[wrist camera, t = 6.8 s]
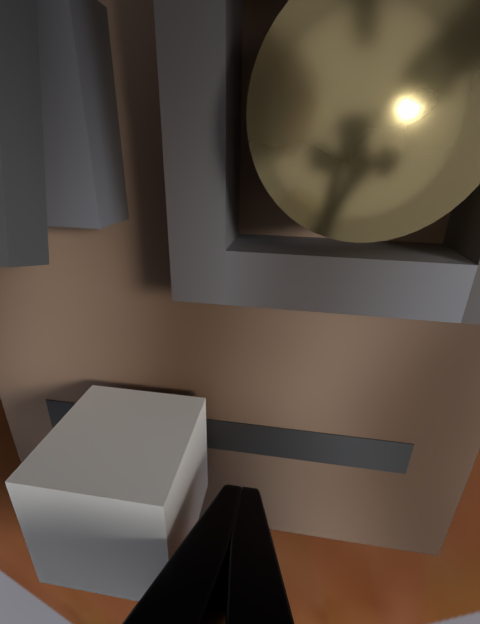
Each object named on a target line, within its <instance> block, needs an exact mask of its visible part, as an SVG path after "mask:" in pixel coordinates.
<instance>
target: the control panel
mask: <svg viewBox="0 0 480 624" xmlns="http://www.w3.org/2000/svg"><path fill="white" fill-rule="evenodd" d="M288 1H289V0H37V19H38V40H39V61H40V82H41V102H42V123H43V144H44V165H45V186H46V207H47V228H48V248H49V265H37V266H23V267H10V268H9V267H0V398H1V402H2V405H3V408H4V411H5V414H6V417H7V421H8V424H9V427H10V430H11V433H12V437H13V440H14V443H15V446H16V449H17V453H18V456H19V459H20V462H21V463H22V462H23V461H24V460H25V459H26V458H27V457H28V456H29V454H30V453H31V452H32V451H33V450H34V449H35V448H36V447H37V446H38V444H39V443H40V442H41V441H42V440H43V439H44V438H45V437H46V436H47V435H48V433H49V432H50V431H51V430H52V429H53V428H54V427H55V426H56V425H57V423H58V422H59V421H60V420H61V419H62V418H63V417H64V416H65V415H66V414H67V412H68V411H69V410H70V409H71V408H72V407H73V406H74V405H75V404H76V402H77V401H78V400H79V399H80V398H81V397H82V396H83V395H84V394H85V393H86V391H87V390H88V389H89V388H90V387H91V386H92V385H96V386H105V387H113V388H122V389H131V390H140V391H149V392H157V393H166V394H175V395H184V396H193V397H202V398H206V430H207V470H208V486H207V490H206V493H205V497H204V501H203V504H202V508H201V511H200V515H199V518H200V517H201V516H202V514H203V513H204V511H205V510H206V509H207V507H208V506H209V505H210V503H211V502H212V501H213V499H214V498H215V496H216V495H217V494H218V492H219V491H220V490H221V488H222V487H223V486H224V485H226V484H229V485H236V486H241V487H251V488H257V489H258V490H259V491H260V494H261V498H262V502H263V506H264V509H265V513H266V517H267V521H268V525H269V529H272V530H279V531H285V532H291V533H298V534H304V535H310V536H316V537H323V538H329V539H335V540H342V541H348V542H354V543H360V544H367V545H373V546H379V547H385V548H392V549H398V550H404V551H411V552H417V553H423V554H429V555H436V556H438V555H439V553H440V550H441V548H442V545H443V542H444V540H445V537H446V535H447V532H448V530H449V527H450V524H451V522H452V519H453V517H454V514H455V511H456V509H457V506H458V504H459V501H460V499H461V496H462V493H463V491H464V488H465V486H466V483H467V480H468V478H469V475H470V473H471V470H472V468H473V465H474V462H475V460H476V457H477V455H478V452H479V449H480V184H479V185H478V186H477V187H476V188H475V189H474V190H473V192H472V193H471V194H470V195H469V196H468V197H467V198H466V199H465V200H464V201H462V202H461V203H460V204H459V205H458V206H456V207H455V208H454V209H453V210H452V211H450V212H449V213H447V214H446V215H444V216H443V217H441V218H440V219H438V220H437V221H435V222H434V223H432V224H430V225H428V226H426V227H424V228H422V229H420V230H418V231H415V232H413V233H410V234H408V235H405V236H402V237H398V238H394V239H390V240H386V241H379V242H371V243H354V242H346V241H339V240H335V239H331V238H327V237H324V236H322V235H319V234H317V233H314V232H312V231H310V230H308V229H307V228H305V227H303V226H301V225H300V224H298V223H297V222H296V221H294V220H293V219H292V218H290V217H289V216H288V215H287V214H286V213H285V212H284V211H283V210H282V209H281V208H280V207H279V206H278V205H277V204H276V203H275V201H274V200H273V199H272V197H271V196H270V195H269V193H268V192H267V190H266V188H265V187H264V185H263V183H262V181H261V180H260V178H259V175H258V173H257V170H256V168H255V165H254V163H253V159H252V155H251V152H250V148H249V142H248V135H247V120H246V109H247V97H248V90H249V84H250V79H251V74H252V71H253V68H254V64H255V61H256V58H257V55H258V52H259V50H260V48H261V46H262V43H263V41H264V39H265V36H266V34H267V33H268V31H269V29H270V27H271V26H272V24H273V22H274V20H275V19H276V17H277V16H278V14H279V13H280V12H281V10H282V9H283V7H284V6H285V5H286V3H287V2H288Z"/></svg>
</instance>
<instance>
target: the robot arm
mask: <svg viewBox="0 0 480 624" xmlns="http://www.w3.org/2000/svg"><path fill="white" fill-rule="evenodd" d="M123 624H294V621H293V617H292V613H291V609H290V605H289V601H288V598H287V594H286V590H285V586H284V582H283V578H282V575H281V571H280V567H279V563H278V559H277V555H276V552H275V548H274V544H273V540H272V536H271V532H270V529H269V525H268V521H267V517H266V513H265V509H264V506H263V502H262V498H261V494H260V491H259V490H258V489H257V488H251V487H241V486H236V485H229V484H226V485H224V486H223V487H222V488H221V490H220V491H219V492H218V494H217V495H216V496H215V498H214V499H213V501H212V502H211V503H210V505H209V506H208V507H207V509H206V510H205V511H204V513H203V514H202V516H201V517H200V518H199V520H198V521H197V522H196V524H195V525H194V526H193V528H192V529H191V531H190V532H189V533H188V535H187V536H186V537H185V539H184V540H183V542H182V543H181V544H180V546H179V547H178V548H177V550H176V551H175V552H174V554H173V555H172V557H171V558H170V559H169V561H168V562H167V563H166V565H165V566H164V568H163V569H162V570H161V572H160V573H159V574H158V576H157V577H156V578H155V580H154V581H153V583H152V584H151V585H150V587H149V588H148V589H147V591H146V592H145V593H144V595H143V596H142V598H141V599H140V600H139V602H138V603H137V604H136V606H135V607H134V609H133V610H132V611H131V613H130V614H129V615H128V617H127V618H126V619H125V621H124V622H123Z"/></svg>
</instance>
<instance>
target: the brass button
mask: <svg viewBox="0 0 480 624" xmlns="http://www.w3.org/2000/svg"><path fill="white" fill-rule="evenodd" d="M246 120H247V135H248V142H249V148H250V152H251V155H252V159H253V163H254V165H255V168H256V170H257V173H258V175H259V178H260V180H261V181H262V183H263V185H264V187H265V188H266V190H267V192H268V193H269V195H270V196H271V197H272V199H273V200H274V201H275V203H276V204H277V205H278V206H279V207H280V208H281V209H282V210H283V211H284V212H285V213H286V214H287V215H288V216H289V217H290V218H292V219H293V220H294V221H296V222H297V223H298V224H300V225H301V226H303V227H305V228H307V229H308V230H310V231H312V232H314V233H317V234H319V235H322V236H324V237H327V238H331V239H335V240H339V241H346V242H354V243H371V242H379V241H386V240H390V239H394V238H398V237H402V236H405V235H408V234H410V233H413V232H415V231H418V230H420V229H422V228H424V227H426V226H428V225H430V224H432V223H434V222H435V221H437V220H438V219H440V218H441V217H443V216H444V215H446V214H447V213H449V212H450V211H452V210H453V209H454V208H455V207H456V206H458V205H459V204H460V203H461V202H462V201H464V200H465V199H466V198H467V197H468V196H469V195H470V194H471V193H472V192H473V190H474V189H475V188H476V187H477V186H478V185H479V184H480V0H289V1H288V2H287V3H286V5H285V6H284V7H283V9H282V10H281V12H280V13H279V14H278V16H277V17H276V19H275V20H274V22H273V24H272V26H271V27H270V29H269V31H268V33H267V34H266V36H265V39H264V41H263V43H262V46H261V48H260V50H259V52H258V55H257V58H256V61H255V64H254V68H253V71H252V74H251V79H250V84H249V90H248V97H247V109H246Z"/></svg>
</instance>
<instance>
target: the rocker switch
mask: <svg viewBox="0 0 480 624" xmlns="http://www.w3.org/2000/svg"><path fill="white" fill-rule="evenodd" d="M37 265H49V248H48V228H47V207H46V186H45V165H44V144H43V123H42V102H41V82H40V61H39V40H38V19H37V0H0V267H9V268H10V267H23V266H37Z"/></svg>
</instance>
